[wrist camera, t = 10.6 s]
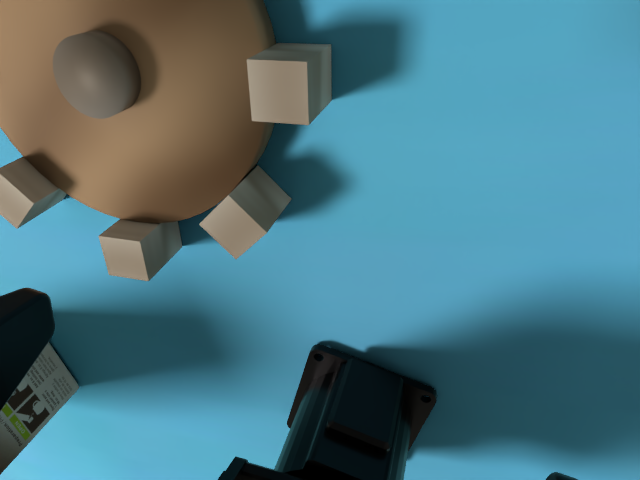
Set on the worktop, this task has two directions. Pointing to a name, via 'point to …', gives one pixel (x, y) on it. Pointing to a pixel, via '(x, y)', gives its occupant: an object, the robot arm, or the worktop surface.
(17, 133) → the sprocket
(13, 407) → the coffee box
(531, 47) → the worktop surface
